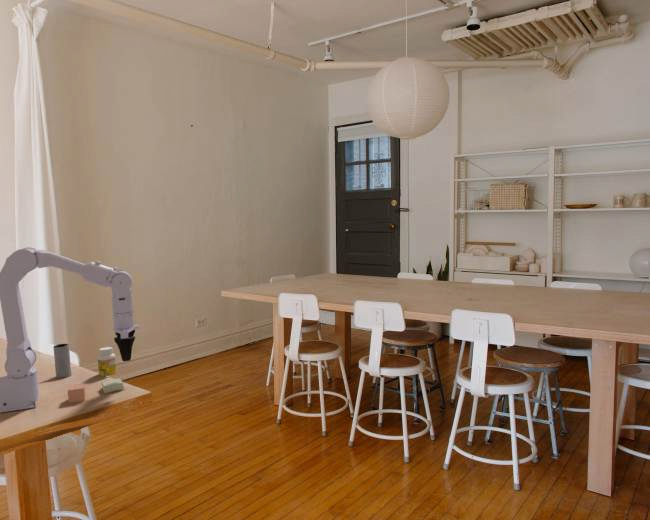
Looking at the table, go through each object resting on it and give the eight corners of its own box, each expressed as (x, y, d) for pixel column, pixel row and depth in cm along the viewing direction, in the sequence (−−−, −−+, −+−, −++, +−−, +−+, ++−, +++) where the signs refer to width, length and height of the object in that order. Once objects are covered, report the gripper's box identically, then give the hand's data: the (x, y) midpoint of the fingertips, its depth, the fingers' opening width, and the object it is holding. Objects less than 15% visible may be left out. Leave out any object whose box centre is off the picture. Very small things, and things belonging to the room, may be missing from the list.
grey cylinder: (67, 373, 179) (64, 343, 178) (73, 375, 176) (71, 344, 175) (53, 376, 176) (50, 346, 175) (60, 378, 173) (57, 347, 172)
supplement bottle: (120, 376, 173) (118, 347, 172) (106, 381, 168) (104, 351, 168) (109, 374, 176) (107, 345, 175) (95, 378, 171) (93, 349, 170)
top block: (104, 393, 152) (104, 386, 152) (102, 388, 157) (101, 381, 157) (123, 389, 155) (122, 382, 155) (120, 384, 159) (119, 378, 159)
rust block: (69, 408, 146) (67, 390, 145) (70, 403, 149) (69, 386, 149) (85, 405, 147) (83, 388, 147) (86, 401, 151) (84, 383, 150)
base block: (103, 400, 152) (103, 393, 152) (100, 394, 157) (100, 388, 157) (125, 396, 155) (125, 389, 155) (122, 390, 160) (121, 384, 160)
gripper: (138, 314, 150) (141, 361, 152) (137, 306, 164) (140, 350, 165) (111, 317, 148) (114, 365, 149) (112, 309, 162) (116, 352, 163)
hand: (126, 357), depth 157 cm, fingers open, 7 cm apart
